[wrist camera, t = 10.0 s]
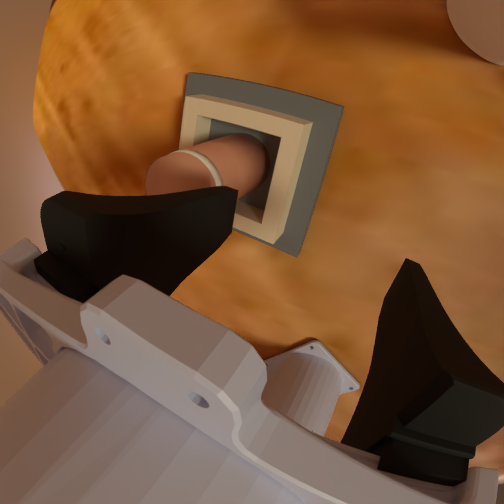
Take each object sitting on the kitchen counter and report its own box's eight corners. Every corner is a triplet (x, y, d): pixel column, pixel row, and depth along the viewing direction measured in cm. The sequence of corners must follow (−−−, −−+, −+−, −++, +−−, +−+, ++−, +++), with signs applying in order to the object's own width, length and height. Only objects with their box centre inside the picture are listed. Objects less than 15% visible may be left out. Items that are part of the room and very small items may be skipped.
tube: (245, 201, 24) (182, 247, 18) (206, 160, 23) (134, 192, 17) (282, 163, 21) (224, 199, 15) (239, 119, 21) (166, 137, 14)
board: (299, 252, 25) (287, 270, 23) (179, 201, 28) (160, 213, 26) (344, 106, 18) (336, 108, 16) (194, 72, 21) (171, 73, 19)
